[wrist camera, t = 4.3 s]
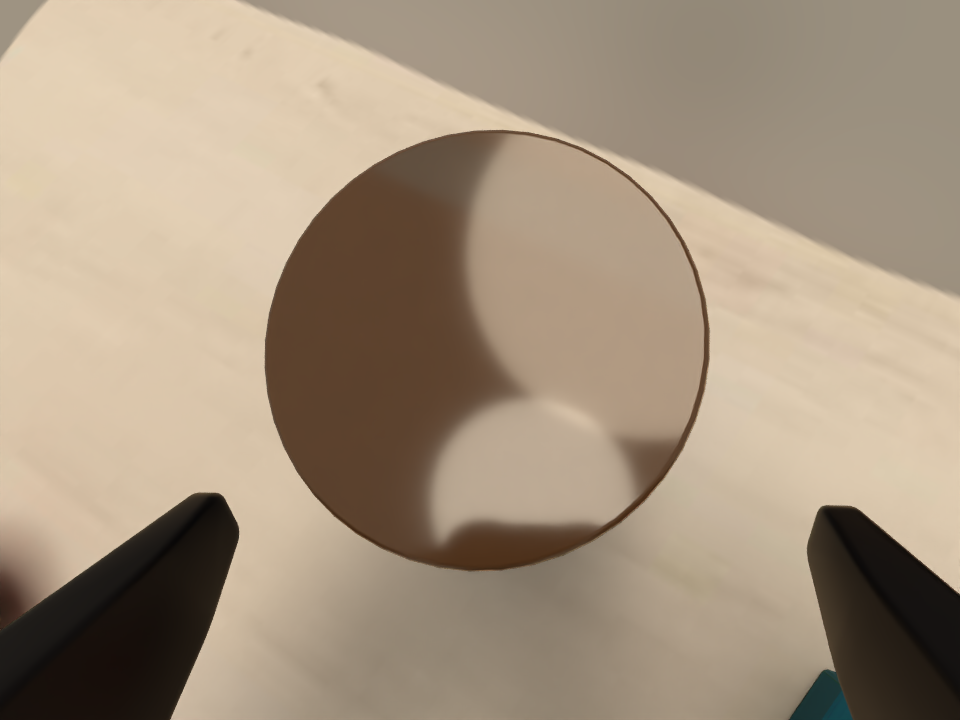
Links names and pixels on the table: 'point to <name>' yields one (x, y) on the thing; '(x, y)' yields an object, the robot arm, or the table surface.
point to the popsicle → (824, 700)
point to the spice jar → (487, 350)
